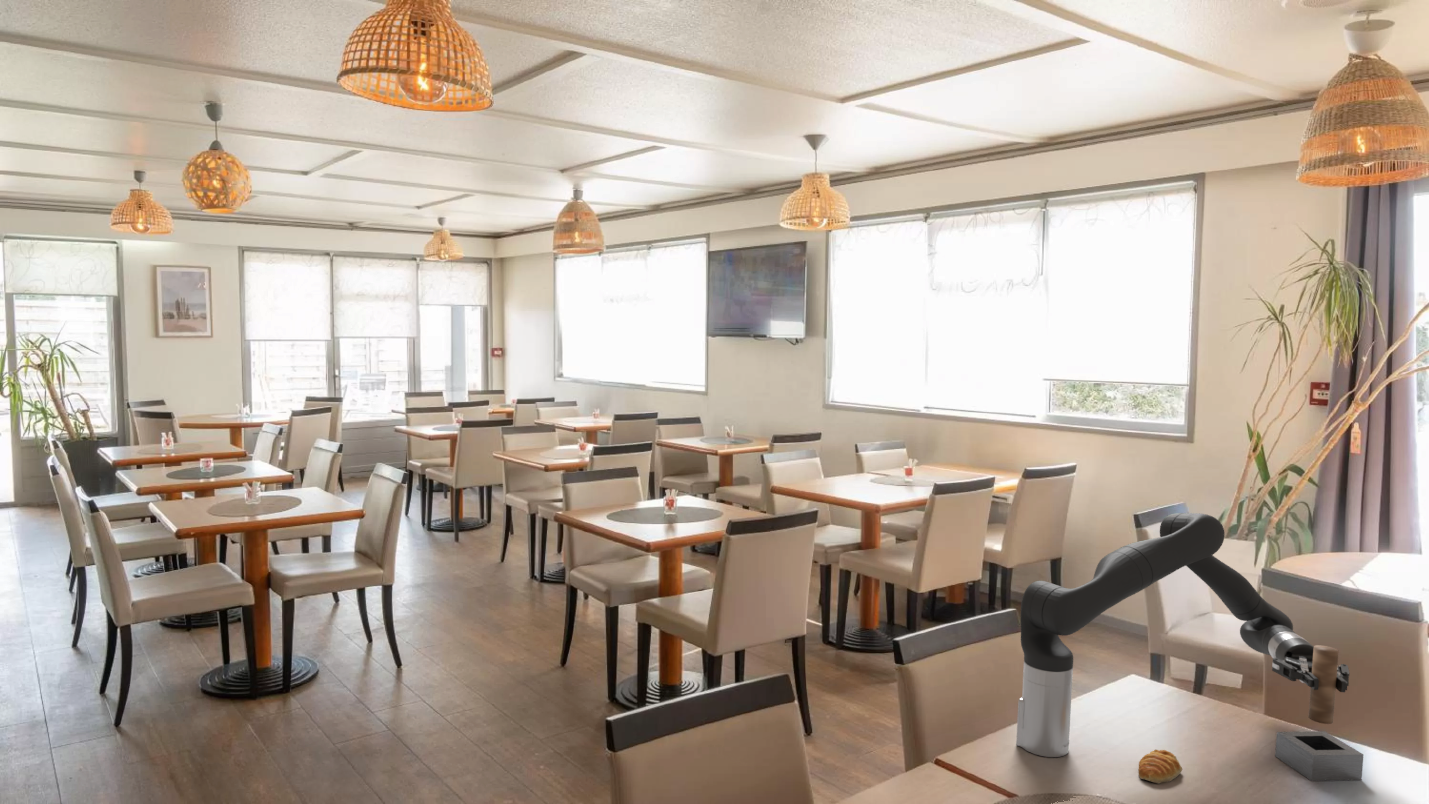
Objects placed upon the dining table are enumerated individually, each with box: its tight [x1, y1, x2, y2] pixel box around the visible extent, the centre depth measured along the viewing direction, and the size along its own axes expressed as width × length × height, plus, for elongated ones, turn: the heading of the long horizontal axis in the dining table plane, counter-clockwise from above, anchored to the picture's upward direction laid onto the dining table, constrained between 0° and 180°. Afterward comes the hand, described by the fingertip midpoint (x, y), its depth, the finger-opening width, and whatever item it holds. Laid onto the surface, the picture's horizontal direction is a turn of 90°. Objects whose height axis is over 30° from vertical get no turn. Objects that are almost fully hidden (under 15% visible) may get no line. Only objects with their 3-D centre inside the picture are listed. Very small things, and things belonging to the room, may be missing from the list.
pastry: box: [1137, 749, 1183, 784], centre depth 174 cm, size 9×7×4 cm
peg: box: [1307, 644, 1340, 725], centre depth 177 cm, size 4×4×14 cm
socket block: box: [1274, 730, 1364, 782], centre depth 178 cm, size 10×10×5 cm
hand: (1330, 685), depth 174 cm, fingers closed on peg, 4 cm apart
